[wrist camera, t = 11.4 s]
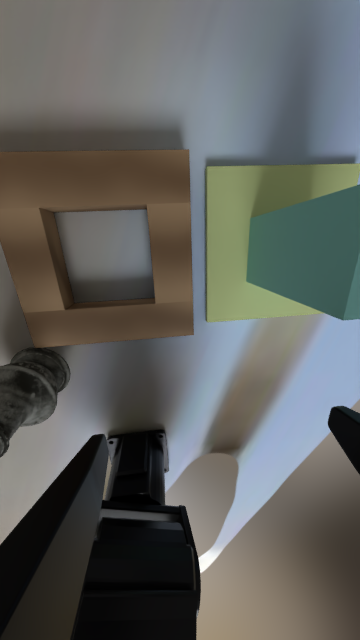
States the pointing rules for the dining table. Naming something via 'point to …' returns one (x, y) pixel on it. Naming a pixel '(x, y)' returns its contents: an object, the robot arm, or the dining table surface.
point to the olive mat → (234, 224)
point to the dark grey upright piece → (29, 390)
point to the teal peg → (310, 253)
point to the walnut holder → (96, 195)
